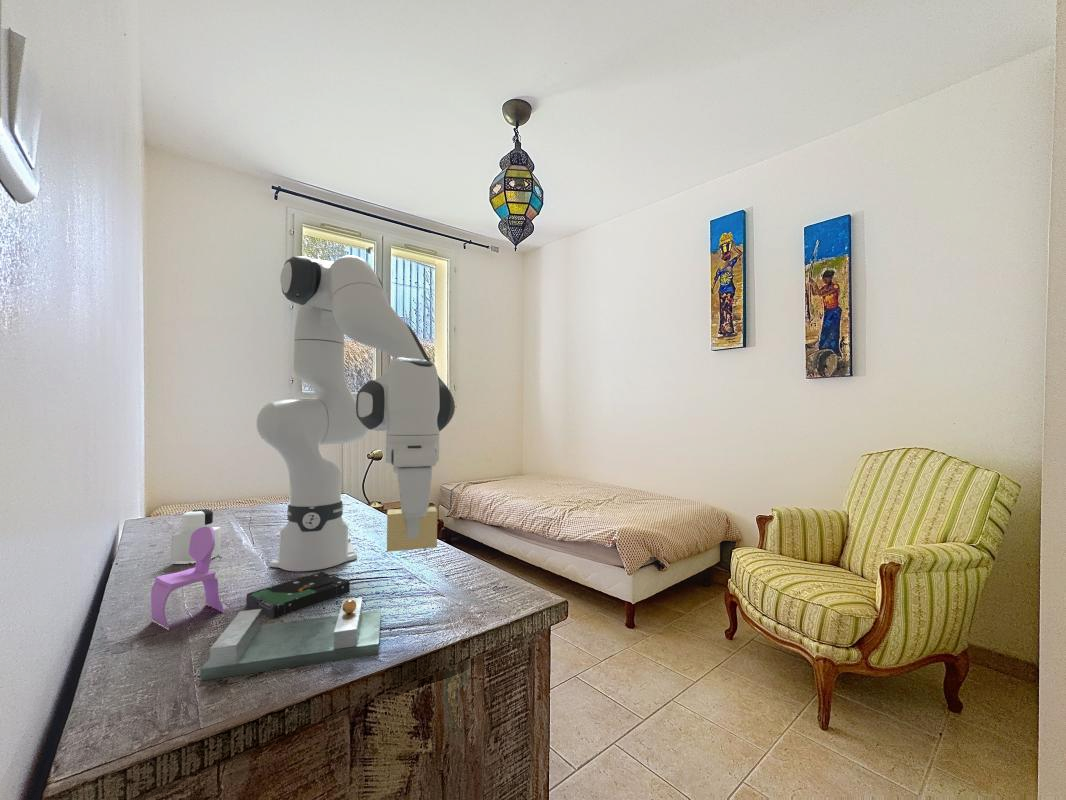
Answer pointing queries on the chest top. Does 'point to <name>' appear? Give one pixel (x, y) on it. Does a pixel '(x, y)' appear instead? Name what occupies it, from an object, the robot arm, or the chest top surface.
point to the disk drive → (297, 594)
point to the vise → (284, 644)
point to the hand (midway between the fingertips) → (411, 533)
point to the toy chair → (188, 576)
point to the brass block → (398, 531)
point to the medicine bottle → (189, 525)
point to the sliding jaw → (348, 623)
